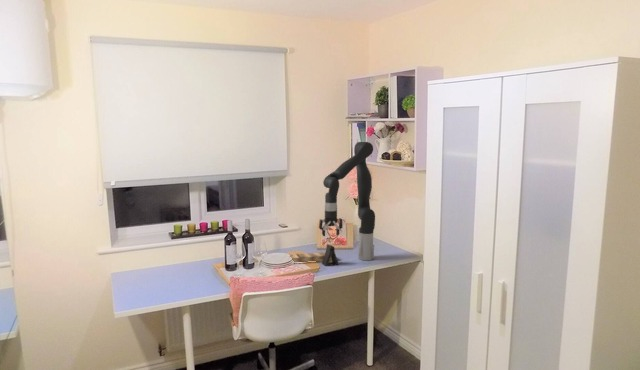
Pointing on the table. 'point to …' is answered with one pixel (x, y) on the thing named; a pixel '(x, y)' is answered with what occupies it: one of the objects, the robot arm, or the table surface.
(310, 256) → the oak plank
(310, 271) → the table surface
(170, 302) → the table surface
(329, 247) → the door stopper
